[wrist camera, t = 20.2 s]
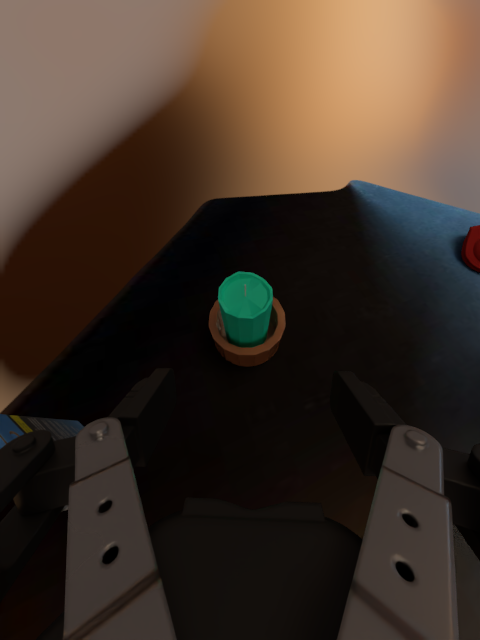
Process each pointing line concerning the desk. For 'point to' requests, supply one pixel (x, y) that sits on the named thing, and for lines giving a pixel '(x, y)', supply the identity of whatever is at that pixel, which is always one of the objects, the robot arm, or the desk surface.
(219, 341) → the holder
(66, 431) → the tape cartridge
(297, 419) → the desk surface
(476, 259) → the tracker holder
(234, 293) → the candle
